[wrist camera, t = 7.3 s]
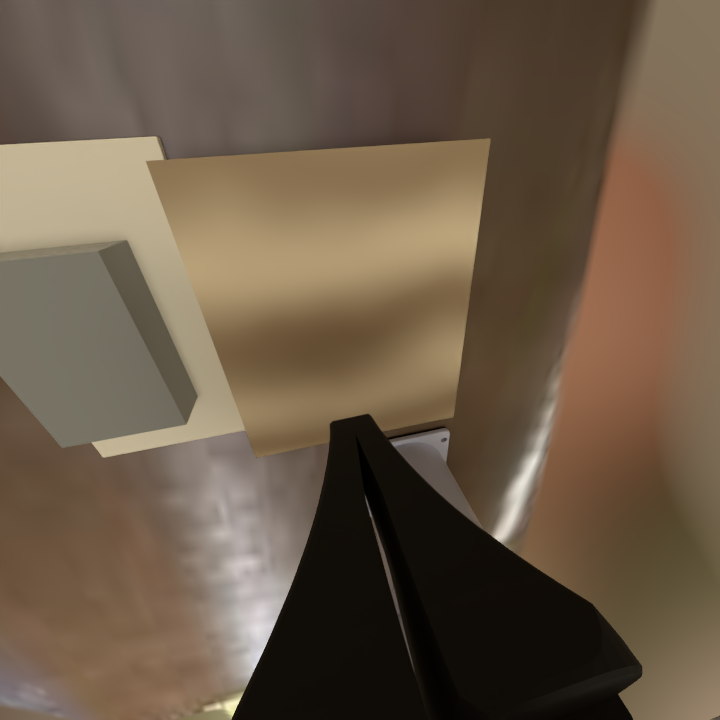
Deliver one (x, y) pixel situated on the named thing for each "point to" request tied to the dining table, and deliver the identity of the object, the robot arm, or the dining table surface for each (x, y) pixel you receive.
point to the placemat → (115, 223)
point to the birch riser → (331, 279)
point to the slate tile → (89, 344)
